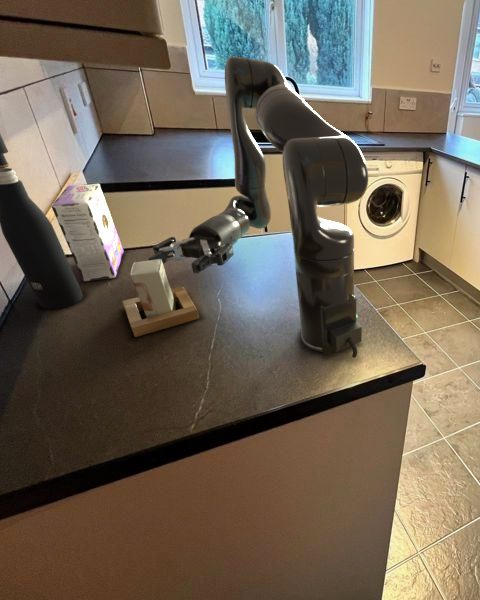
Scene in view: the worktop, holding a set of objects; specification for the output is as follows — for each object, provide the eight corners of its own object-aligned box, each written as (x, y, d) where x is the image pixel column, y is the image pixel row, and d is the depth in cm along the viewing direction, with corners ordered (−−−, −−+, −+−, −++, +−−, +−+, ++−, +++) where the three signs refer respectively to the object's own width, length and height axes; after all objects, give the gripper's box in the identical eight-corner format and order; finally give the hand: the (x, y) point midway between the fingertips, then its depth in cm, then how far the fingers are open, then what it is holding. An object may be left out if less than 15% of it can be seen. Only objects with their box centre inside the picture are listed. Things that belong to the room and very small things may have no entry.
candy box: (95, 255, 88) (66, 184, 80) (125, 251, 91) (100, 182, 82) (82, 282, 78) (48, 204, 69) (116, 278, 80) (87, 201, 71)
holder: (199, 318, 70) (197, 309, 69) (135, 337, 64) (131, 328, 63) (185, 294, 76) (182, 286, 75) (125, 309, 71) (122, 300, 70)
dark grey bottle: (84, 288, 76) (13, 126, 60) (81, 304, 71) (4, 133, 55) (43, 295, 73) (-43, 126, 57) (37, 312, 68) (-58, 133, 52)
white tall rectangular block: (150, 308, 71) (134, 260, 66) (176, 305, 73) (162, 258, 68) (146, 324, 67) (128, 274, 62) (174, 319, 69) (159, 271, 64)
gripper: (183, 216, 84) (131, 244, 70) (245, 222, 83) (204, 252, 69) (190, 247, 88) (143, 279, 74) (250, 253, 87) (212, 287, 73)
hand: (172, 266), depth 72 cm, fingers open, 8 cm apart
